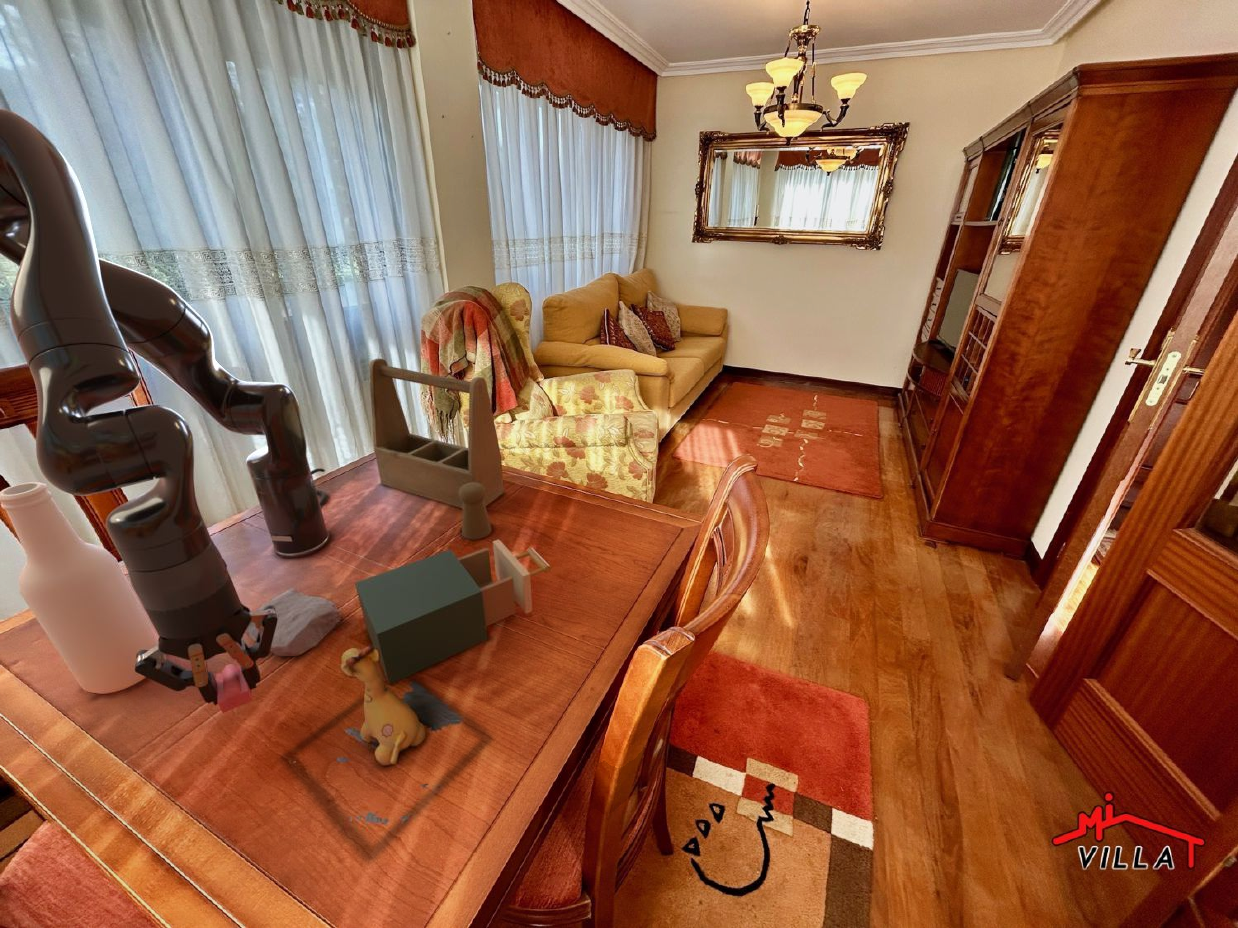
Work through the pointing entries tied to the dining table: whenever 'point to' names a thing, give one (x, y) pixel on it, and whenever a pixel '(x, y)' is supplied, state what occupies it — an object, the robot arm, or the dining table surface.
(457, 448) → the caddy
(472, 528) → the wooden peg doll
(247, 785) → the dining table surface
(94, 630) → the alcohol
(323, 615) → the stone block
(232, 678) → the red ridged block
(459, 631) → the cabinet
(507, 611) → the drawer
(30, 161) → the robot arm
